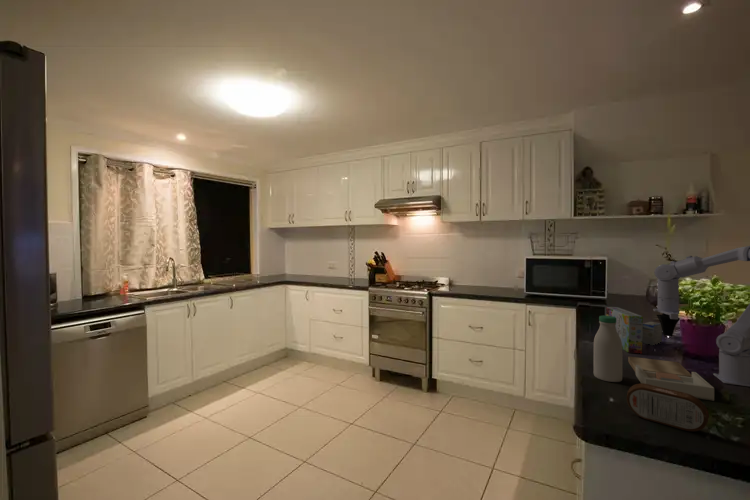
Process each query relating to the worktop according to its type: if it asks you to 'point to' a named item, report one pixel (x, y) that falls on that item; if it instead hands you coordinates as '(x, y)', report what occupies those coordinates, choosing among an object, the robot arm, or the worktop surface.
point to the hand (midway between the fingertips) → (667, 335)
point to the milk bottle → (608, 351)
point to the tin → (668, 407)
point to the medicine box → (652, 333)
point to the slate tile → (672, 380)
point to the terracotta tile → (666, 376)
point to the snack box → (628, 328)
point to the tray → (679, 384)
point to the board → (658, 366)
